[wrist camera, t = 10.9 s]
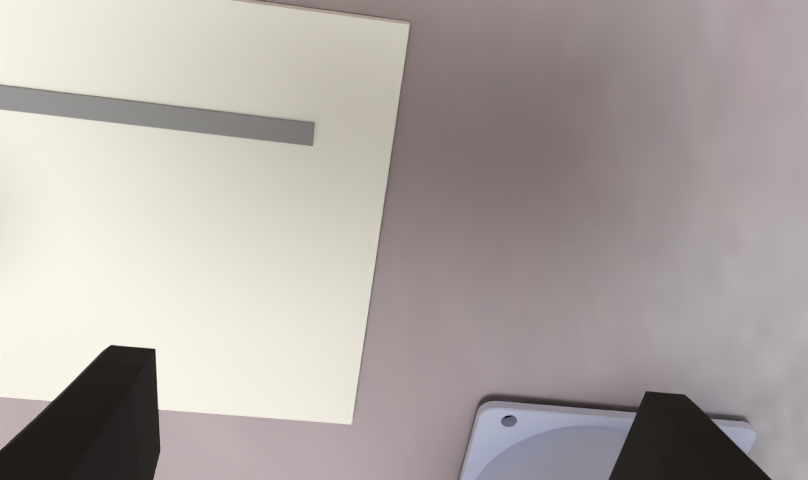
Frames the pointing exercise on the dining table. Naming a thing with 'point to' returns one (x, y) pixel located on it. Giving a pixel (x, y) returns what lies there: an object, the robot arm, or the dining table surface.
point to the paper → (194, 196)
